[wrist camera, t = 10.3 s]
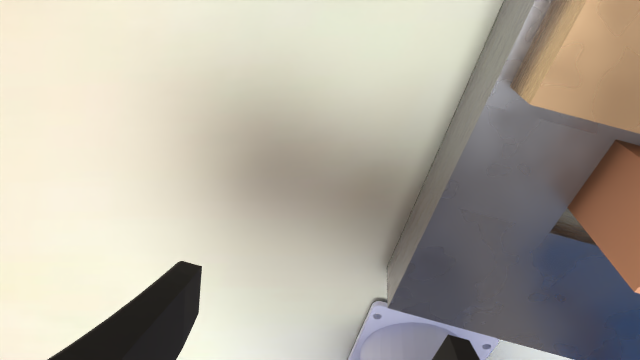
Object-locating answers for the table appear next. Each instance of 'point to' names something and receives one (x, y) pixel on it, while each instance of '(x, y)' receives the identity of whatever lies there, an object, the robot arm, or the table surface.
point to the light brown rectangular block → (614, 209)
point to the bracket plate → (529, 186)
